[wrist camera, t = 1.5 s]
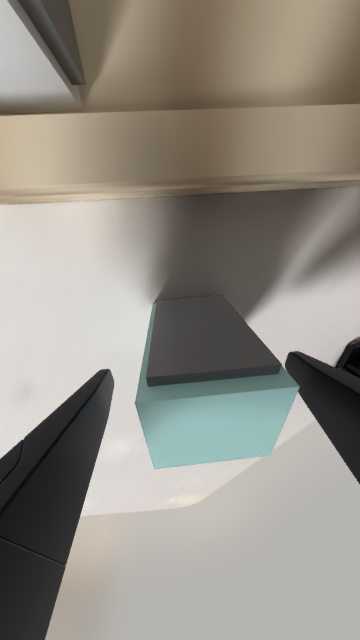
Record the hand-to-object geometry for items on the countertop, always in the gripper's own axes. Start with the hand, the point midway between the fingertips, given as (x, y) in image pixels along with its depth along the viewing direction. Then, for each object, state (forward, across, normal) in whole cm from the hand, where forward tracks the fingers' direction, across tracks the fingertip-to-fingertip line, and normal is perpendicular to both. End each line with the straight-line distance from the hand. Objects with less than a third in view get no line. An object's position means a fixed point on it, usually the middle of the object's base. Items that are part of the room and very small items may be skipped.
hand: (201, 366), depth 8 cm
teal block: (+4, 0, 0) cm, 4 cm away
